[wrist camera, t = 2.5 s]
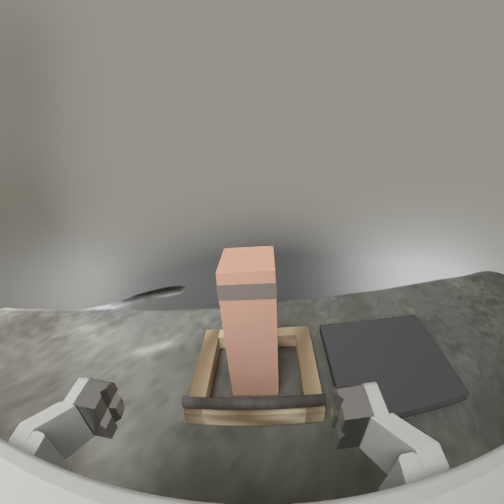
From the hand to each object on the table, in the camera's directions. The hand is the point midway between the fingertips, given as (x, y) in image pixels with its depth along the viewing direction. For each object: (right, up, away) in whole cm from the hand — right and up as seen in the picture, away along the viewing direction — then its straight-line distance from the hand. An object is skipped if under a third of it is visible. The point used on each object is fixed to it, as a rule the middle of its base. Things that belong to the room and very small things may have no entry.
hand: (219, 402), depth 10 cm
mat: (+15, -6, +16) cm, 22 cm away
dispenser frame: (+2, -6, +17) cm, 18 cm away
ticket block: (+2, -6, +17) cm, 18 cm away
